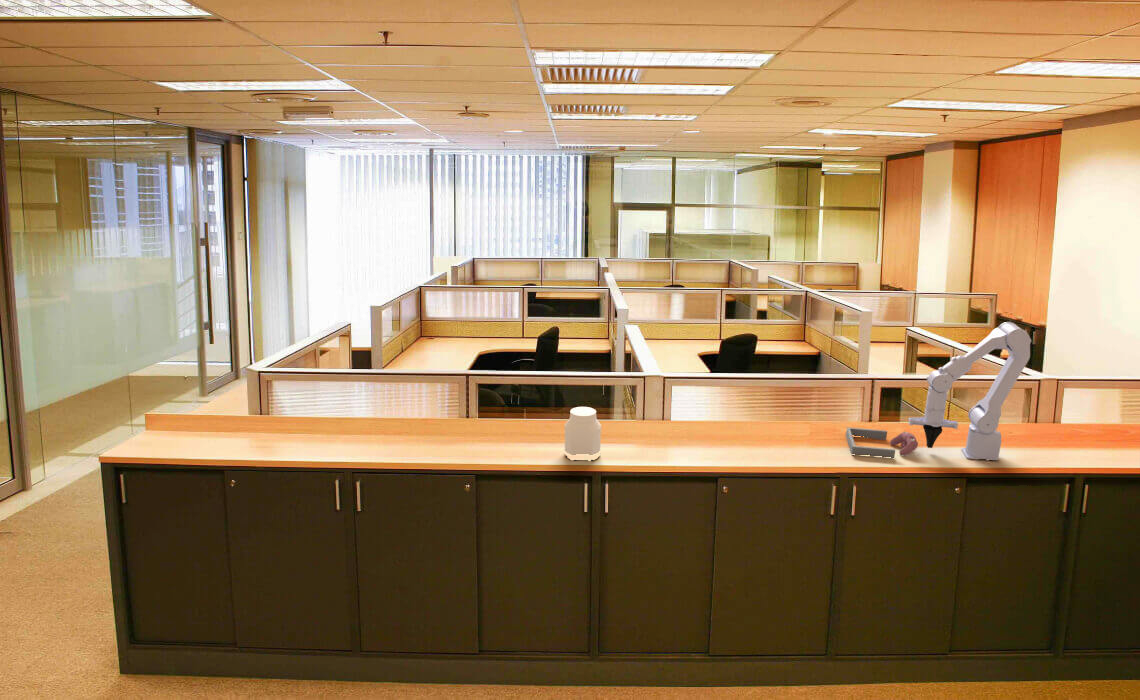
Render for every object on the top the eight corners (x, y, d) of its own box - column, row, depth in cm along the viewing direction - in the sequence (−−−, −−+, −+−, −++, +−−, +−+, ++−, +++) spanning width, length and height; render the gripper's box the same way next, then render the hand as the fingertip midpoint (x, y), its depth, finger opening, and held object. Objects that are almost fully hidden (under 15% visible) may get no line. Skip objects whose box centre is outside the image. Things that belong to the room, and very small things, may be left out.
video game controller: (910, 461, 263) (923, 443, 261) (898, 455, 263) (911, 437, 261) (899, 448, 273) (911, 431, 271) (887, 442, 272) (899, 425, 270)
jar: (563, 460, 256) (564, 416, 252) (565, 448, 266) (565, 405, 261) (600, 461, 256) (601, 417, 252) (600, 449, 265) (601, 406, 261)
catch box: (885, 438, 277) (886, 430, 276) (894, 459, 261) (895, 450, 260) (845, 435, 279) (846, 427, 278) (851, 455, 263) (852, 446, 262)
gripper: (913, 410, 259) (908, 449, 263) (962, 414, 257) (956, 453, 261) (909, 402, 266) (904, 441, 270) (957, 406, 263) (950, 445, 267)
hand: (929, 446), depth 266 cm, fingers closed
